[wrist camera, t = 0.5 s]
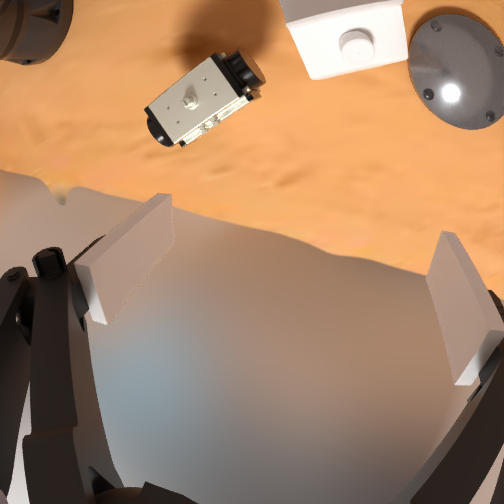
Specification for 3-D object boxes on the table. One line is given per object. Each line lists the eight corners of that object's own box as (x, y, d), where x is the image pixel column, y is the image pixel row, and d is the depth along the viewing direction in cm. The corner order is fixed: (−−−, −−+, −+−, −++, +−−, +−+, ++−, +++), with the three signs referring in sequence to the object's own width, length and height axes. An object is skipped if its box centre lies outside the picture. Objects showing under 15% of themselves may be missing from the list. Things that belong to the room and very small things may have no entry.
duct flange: (383, 47, 28) (385, 46, 27) (467, -1, 21) (470, -3, 20) (448, 148, 31) (452, 150, 30) (525, 98, 25) (529, 100, 24)
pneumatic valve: (181, 104, 37) (127, 120, 27) (257, 51, 32) (224, 41, 22) (205, 139, 39) (158, 165, 29) (283, 89, 33) (261, 94, 23)
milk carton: (298, 24, 29) (264, -24, 13) (358, 10, 26) (380, -50, 10) (319, 80, 32) (306, 80, 16) (379, 66, 29) (424, 56, 13)
